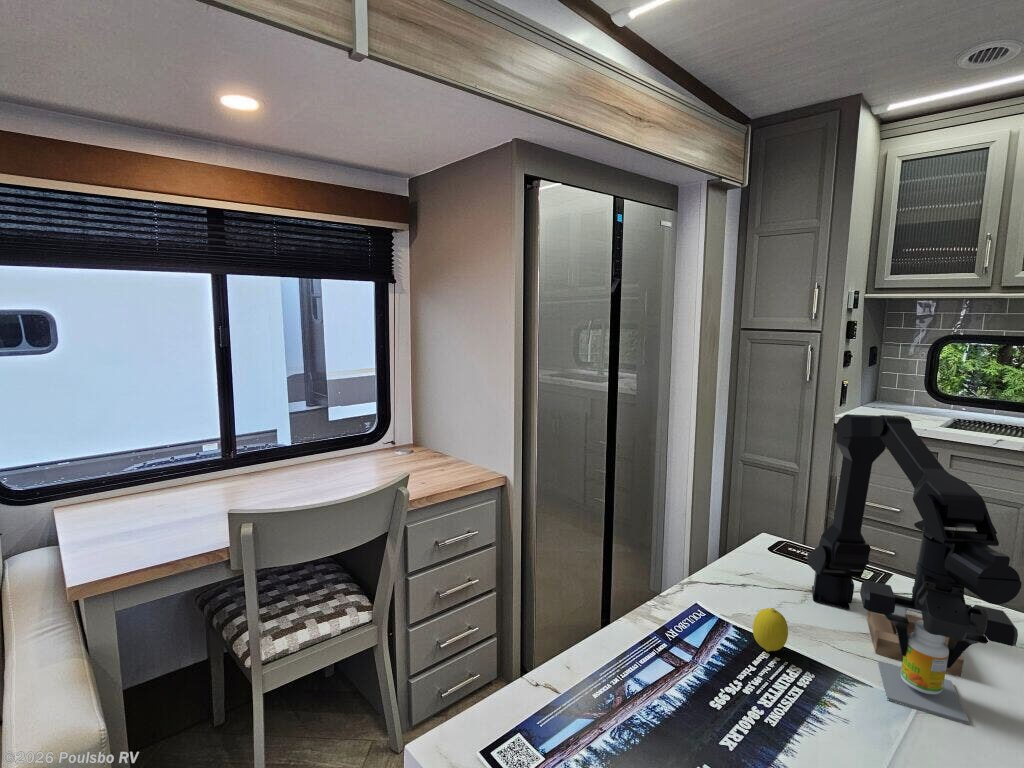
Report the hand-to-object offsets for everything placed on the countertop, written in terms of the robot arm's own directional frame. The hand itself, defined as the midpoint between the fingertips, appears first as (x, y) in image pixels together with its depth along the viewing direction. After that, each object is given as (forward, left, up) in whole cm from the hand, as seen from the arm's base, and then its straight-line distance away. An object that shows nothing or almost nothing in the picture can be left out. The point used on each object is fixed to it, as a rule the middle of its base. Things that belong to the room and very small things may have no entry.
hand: (924, 660), depth 86 cm
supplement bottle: (0, 0, -4) cm, 4 cm away
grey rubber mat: (0, 0, -5) cm, 5 cm away
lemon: (-22, -1, -6) cm, 23 cm away
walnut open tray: (+1, +14, -5) cm, 15 cm away
